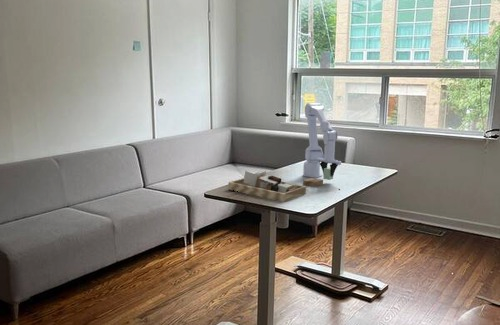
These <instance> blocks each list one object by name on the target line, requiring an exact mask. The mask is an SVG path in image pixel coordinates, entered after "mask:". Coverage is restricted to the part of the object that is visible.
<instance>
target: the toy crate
mask: <svg viewBox="0 0 500 325" xmlns="http://www.w3.org/2000/svg"><path fill="white" fill-rule="evenodd" d="M243 182H244V178H240V179H236V180H232V181H228V190H229V189H230V190H229V191H233V190H234V191H233V192H237V191H238V193H241V192H242V193H243V194H246V195H250V196H255V197H260V198H263V199H264V198H265V199H267V200H268V199H269V200H272V201H278V202H283V203H285V202H288V201H291V200H293V199H296V198H298V197H302V196H304V195H306V194H307V185H300V184H295V183H290V182H286V183H287V184H290V185H292V187H294V188H297V189H295V190H292V191H289V192H286V193H280V192H275V191H271V190H266V189H261V188H256V187H252V186H250V185H249V184H246V183H243Z"/></svg>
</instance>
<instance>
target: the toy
mask: <svg viewBox="0 0 500 325" xmlns="http://www.w3.org/2000/svg"><path fill="white" fill-rule="evenodd" d="M266 174H267V171H266V170H265V171H263V172H262V171H261V172H255V173H253V172H250V171H247V170H245V171H244V182H243V183H246V184H249V185H248V186H252V187H256V188H261V189H266V190H271V191H275V192H280V193H286V192H289V191H292V190H295V189H297V188H294V187H292V185H290V184H287V183H288V182H284V179H282V178H281V177H278V176H275V175H269V174H267V175H266Z"/></svg>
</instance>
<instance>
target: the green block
mask: <svg viewBox="0 0 500 325" xmlns="http://www.w3.org/2000/svg"><path fill="white" fill-rule="evenodd" d="M330 173H331V170H330V167H328V166H327V168H324V175H322V176H323V178H322V180H326V181H330V180H333V179H334V175H333V176H332V177H331V176H330Z"/></svg>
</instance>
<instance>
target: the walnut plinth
mask: <svg viewBox="0 0 500 325" xmlns="http://www.w3.org/2000/svg"><path fill="white" fill-rule="evenodd" d="M302 182H303V184H302V186H306V187H307V186H308V187H313V188H317V187H319V186H323V185H324V179H319V178H313V177H308V178H307V179H303V181H302Z"/></svg>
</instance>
